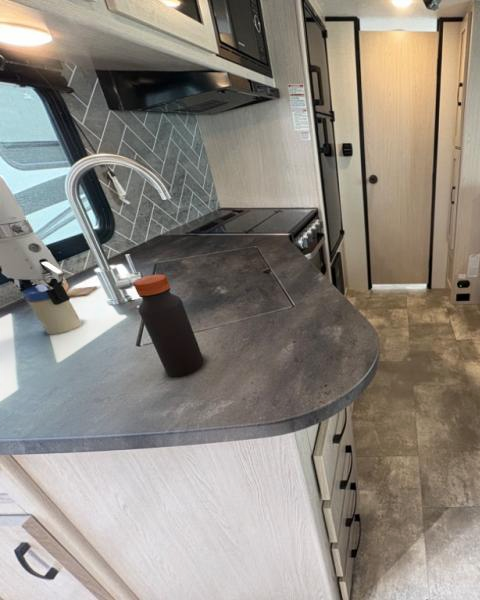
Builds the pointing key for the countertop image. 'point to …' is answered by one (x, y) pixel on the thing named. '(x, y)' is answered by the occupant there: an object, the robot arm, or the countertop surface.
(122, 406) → the countertop surface
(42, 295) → the jam lid
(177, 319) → the bottle
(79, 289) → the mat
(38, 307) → the jam jar
